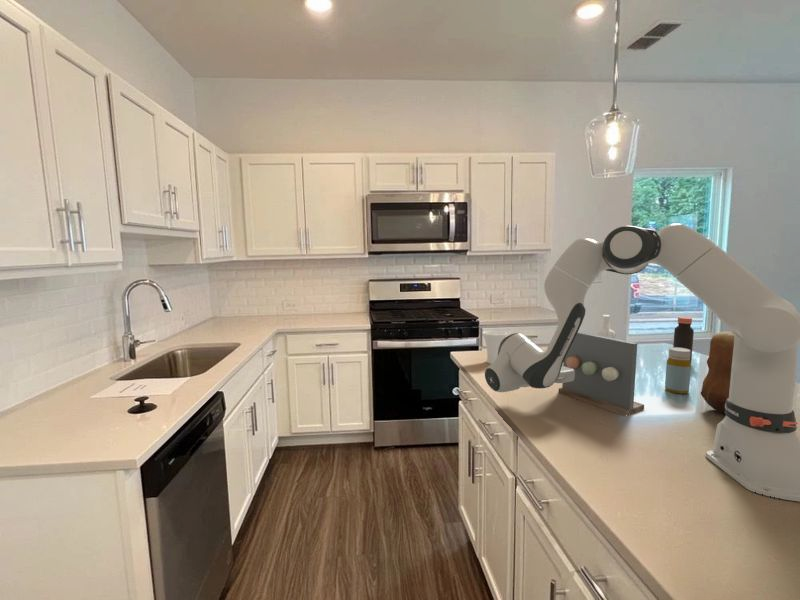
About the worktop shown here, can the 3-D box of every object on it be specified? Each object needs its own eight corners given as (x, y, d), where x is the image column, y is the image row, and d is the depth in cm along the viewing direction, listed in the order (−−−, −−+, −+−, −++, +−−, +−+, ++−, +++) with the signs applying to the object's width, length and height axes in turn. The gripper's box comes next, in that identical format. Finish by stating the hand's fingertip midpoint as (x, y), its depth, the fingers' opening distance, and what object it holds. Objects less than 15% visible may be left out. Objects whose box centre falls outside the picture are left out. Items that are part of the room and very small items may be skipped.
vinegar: (668, 362, 179) (671, 317, 176) (679, 360, 181) (683, 316, 178) (683, 366, 172) (686, 319, 170) (695, 364, 174) (698, 318, 172)
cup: (481, 364, 178) (481, 334, 176) (483, 358, 188) (483, 329, 186) (505, 366, 175) (506, 335, 173) (506, 360, 185) (507, 330, 183)
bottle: (692, 395, 139) (696, 352, 137) (669, 393, 141) (673, 351, 139) (683, 388, 146) (686, 347, 144) (661, 387, 147) (664, 346, 146)
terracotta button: (575, 370, 136) (576, 358, 135) (565, 367, 139) (566, 355, 139) (580, 369, 137) (581, 357, 136) (570, 366, 140) (570, 354, 140)
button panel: (625, 416, 123) (629, 344, 120) (558, 392, 143) (560, 331, 140) (643, 409, 128) (648, 340, 125) (576, 387, 148) (579, 327, 145)
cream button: (613, 382, 123) (614, 369, 123) (601, 378, 126) (602, 366, 126) (618, 381, 124) (619, 368, 124) (606, 377, 128) (606, 365, 127)
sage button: (592, 376, 129) (593, 364, 129) (581, 373, 132) (582, 361, 132) (597, 375, 130) (598, 362, 130) (586, 371, 134) (586, 360, 133)
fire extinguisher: (595, 384, 151) (598, 317, 148) (594, 374, 162) (597, 312, 159) (615, 386, 148) (619, 319, 145) (613, 376, 159) (616, 313, 156)
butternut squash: (752, 410, 126) (760, 330, 123) (763, 426, 115) (772, 339, 112) (697, 401, 133) (703, 326, 130) (702, 416, 122) (709, 334, 119)
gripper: (557, 370, 118) (587, 363, 125) (506, 354, 136) (535, 348, 143) (556, 391, 119) (586, 382, 126) (505, 372, 137) (534, 366, 143)
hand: (558, 364), depth 134 cm, fingers closed
